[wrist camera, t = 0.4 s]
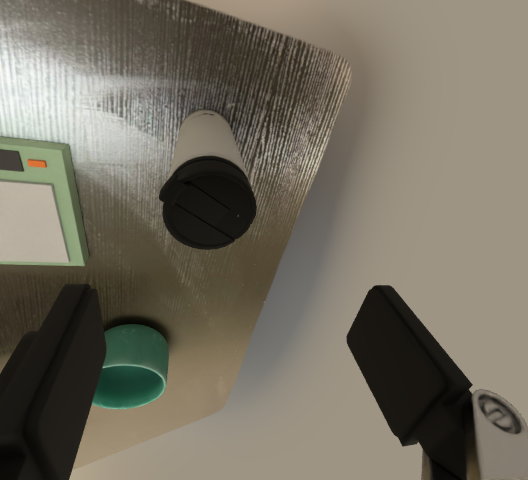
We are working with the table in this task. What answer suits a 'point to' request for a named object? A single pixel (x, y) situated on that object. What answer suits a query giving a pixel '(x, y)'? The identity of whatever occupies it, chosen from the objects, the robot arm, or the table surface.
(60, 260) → the scale
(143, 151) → the table surface
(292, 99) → the table surface
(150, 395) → the mug
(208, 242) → the travel mug
